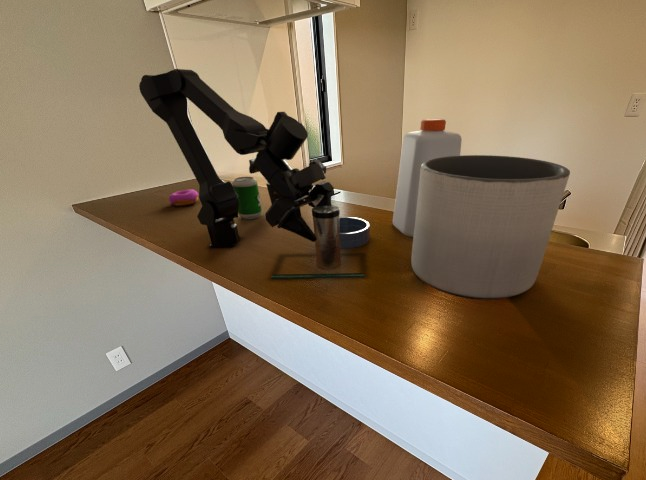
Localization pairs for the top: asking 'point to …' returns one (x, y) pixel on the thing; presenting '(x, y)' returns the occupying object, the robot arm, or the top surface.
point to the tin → (327, 236)
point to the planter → (484, 223)
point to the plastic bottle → (419, 167)
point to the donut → (184, 197)
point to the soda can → (248, 197)
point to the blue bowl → (353, 232)
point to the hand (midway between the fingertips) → (327, 233)
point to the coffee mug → (272, 196)
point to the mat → (318, 276)
